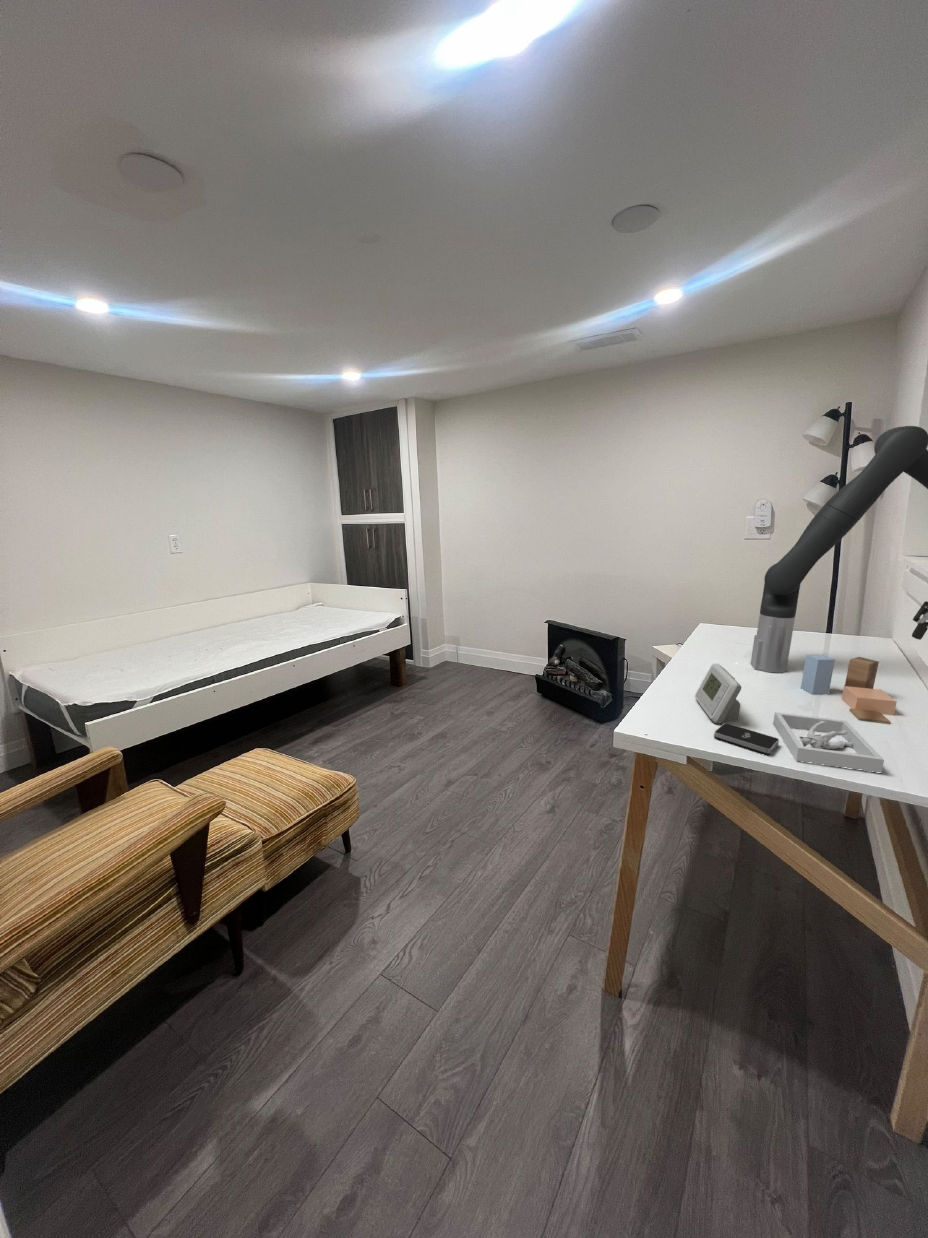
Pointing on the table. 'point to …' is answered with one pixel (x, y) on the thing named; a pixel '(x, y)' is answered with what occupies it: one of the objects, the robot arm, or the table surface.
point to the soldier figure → (823, 739)
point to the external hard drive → (746, 739)
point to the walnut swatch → (869, 716)
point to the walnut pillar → (861, 673)
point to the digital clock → (719, 695)
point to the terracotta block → (869, 700)
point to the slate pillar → (817, 674)
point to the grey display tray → (862, 760)
